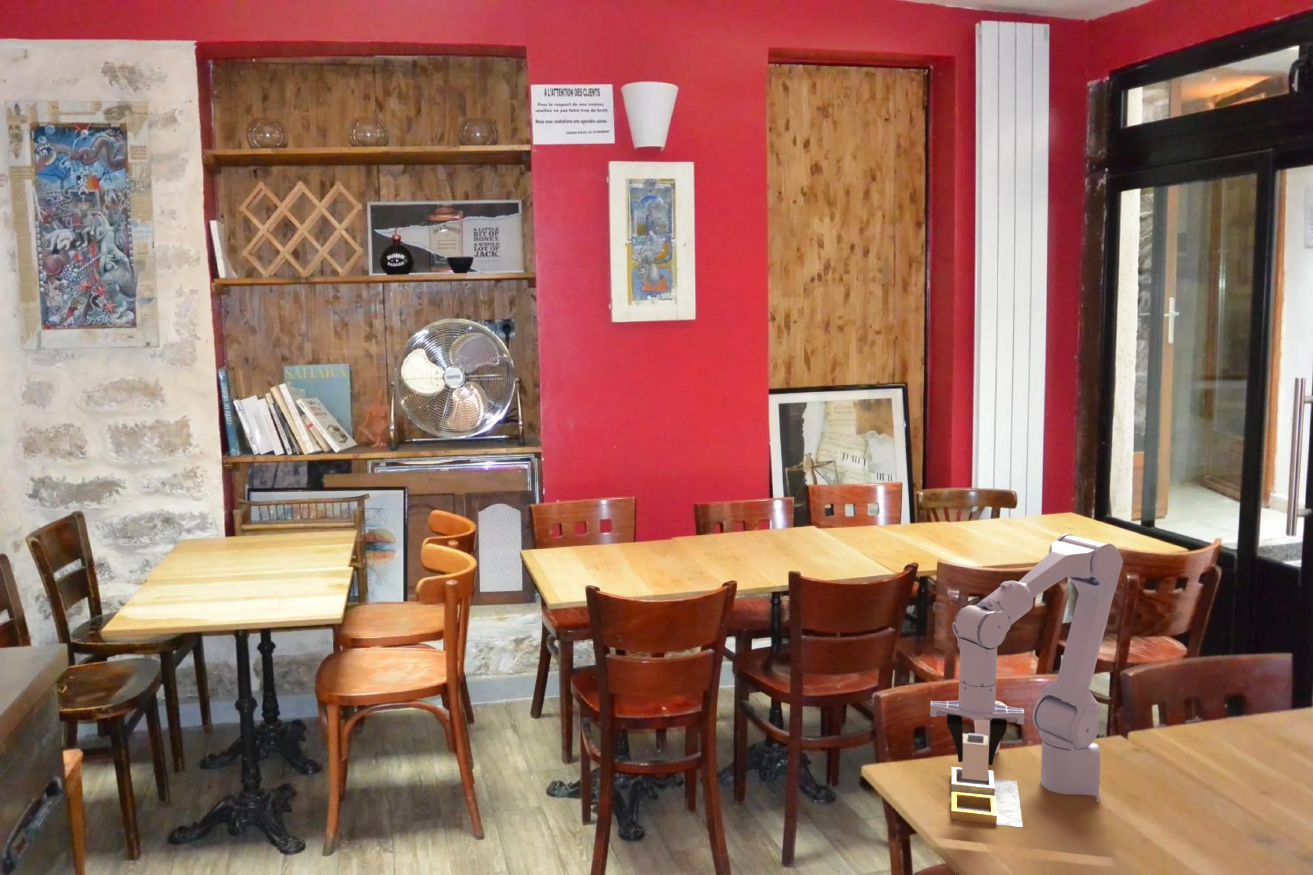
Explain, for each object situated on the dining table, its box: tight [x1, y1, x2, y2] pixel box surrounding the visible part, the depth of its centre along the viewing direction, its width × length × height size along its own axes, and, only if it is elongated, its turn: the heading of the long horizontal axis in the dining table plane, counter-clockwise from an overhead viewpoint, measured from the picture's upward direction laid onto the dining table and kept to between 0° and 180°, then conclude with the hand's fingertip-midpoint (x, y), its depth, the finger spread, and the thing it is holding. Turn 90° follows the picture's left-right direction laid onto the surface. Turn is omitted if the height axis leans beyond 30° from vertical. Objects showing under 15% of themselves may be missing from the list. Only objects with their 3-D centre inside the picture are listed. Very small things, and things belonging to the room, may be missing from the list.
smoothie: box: [973, 700, 1007, 755], centre depth 205 cm, size 6×6×14 cm
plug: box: [961, 732, 989, 781], centre depth 180 cm, size 4×4×7 cm
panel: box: [950, 766, 1024, 828], centre depth 185 cm, size 11×17×2 cm, turn 165°
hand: (975, 760), depth 180 cm, fingers closed on plug, 4 cm apart
